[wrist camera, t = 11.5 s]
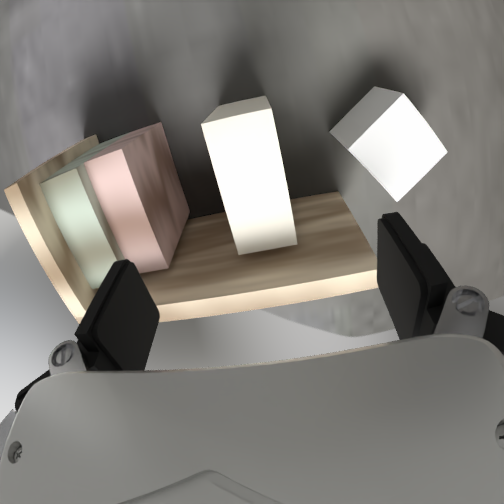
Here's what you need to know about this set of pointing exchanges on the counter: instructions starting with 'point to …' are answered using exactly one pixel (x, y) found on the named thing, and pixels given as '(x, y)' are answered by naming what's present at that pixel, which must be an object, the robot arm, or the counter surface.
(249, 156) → the white block
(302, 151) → the counter surface
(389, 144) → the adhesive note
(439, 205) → the counter surface
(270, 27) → the counter surface
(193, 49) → the counter surface
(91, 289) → the wide wooden block
